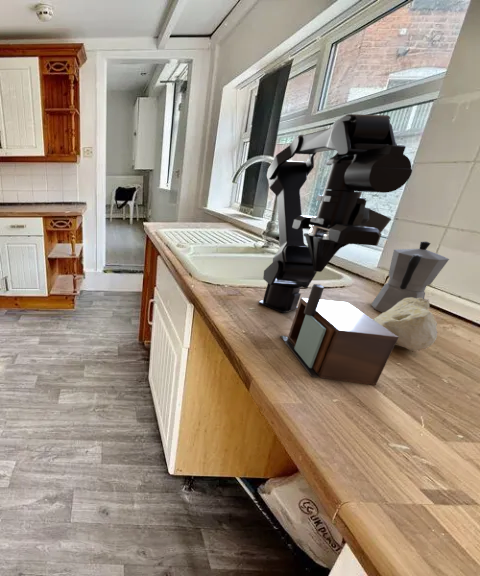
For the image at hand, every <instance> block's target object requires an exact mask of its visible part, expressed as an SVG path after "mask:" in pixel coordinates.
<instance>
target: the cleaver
mask: <svg viewBox="0 0 480 576" xmlns="http://www.w3.org/2000/svg"><path fill="white" fill-rule="evenodd" d="M311 286H312V287H311V290H310V292H309V293H310V294H309V295H308V301H307V304H306V307H305V310H304V314H306V315H305V318H304V321H303V324H302V327H301V330H300V333H299V336H298V339H297V342H296V345H295V346H294V347H295V348H294V349H295V350H296V352H297V353H298V354H299V355H300V357H301V358H302V359H303V360H304V362H305V363H306V364H307V365H308V367H309V368H312V366H313V363H314V361H315V358H316V355H317V353H318V350H319V347H320V345H321V342H322V339H323V337H324V334H325V331H326V328H325V327H323V326H322V325H321V324H320V323H319V322H318V321H317V320H316V319H315V318H314V317H313V316H314V315H315V312H316V309H317V306H318V304H319V301H320V300H321V298H322V296H323V295H322V294H323V292H324V289H325V286H324V285H322V284H319V283H318V284H317V283H314V284H312V285H311ZM312 369H313V368H312Z"/></svg>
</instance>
